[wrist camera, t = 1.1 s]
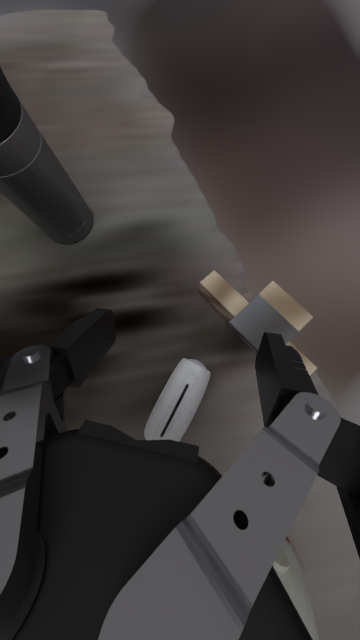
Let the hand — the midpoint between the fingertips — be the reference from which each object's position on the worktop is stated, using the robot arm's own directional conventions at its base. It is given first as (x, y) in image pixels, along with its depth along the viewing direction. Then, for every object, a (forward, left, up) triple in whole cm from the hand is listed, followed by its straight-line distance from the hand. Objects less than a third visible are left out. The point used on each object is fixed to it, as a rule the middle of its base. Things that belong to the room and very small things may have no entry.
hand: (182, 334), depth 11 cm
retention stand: (+4, +8, -23) cm, 25 cm away
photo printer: (+4, -5, -23) cm, 24 cm away
